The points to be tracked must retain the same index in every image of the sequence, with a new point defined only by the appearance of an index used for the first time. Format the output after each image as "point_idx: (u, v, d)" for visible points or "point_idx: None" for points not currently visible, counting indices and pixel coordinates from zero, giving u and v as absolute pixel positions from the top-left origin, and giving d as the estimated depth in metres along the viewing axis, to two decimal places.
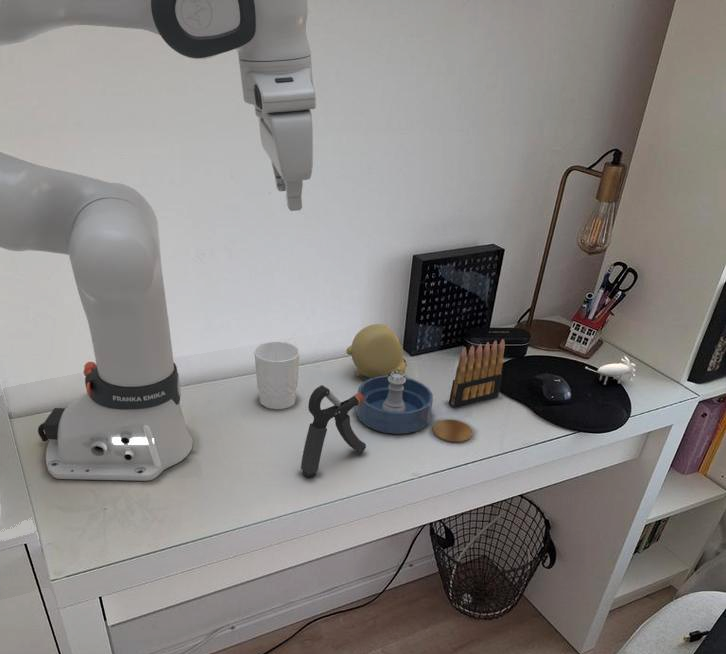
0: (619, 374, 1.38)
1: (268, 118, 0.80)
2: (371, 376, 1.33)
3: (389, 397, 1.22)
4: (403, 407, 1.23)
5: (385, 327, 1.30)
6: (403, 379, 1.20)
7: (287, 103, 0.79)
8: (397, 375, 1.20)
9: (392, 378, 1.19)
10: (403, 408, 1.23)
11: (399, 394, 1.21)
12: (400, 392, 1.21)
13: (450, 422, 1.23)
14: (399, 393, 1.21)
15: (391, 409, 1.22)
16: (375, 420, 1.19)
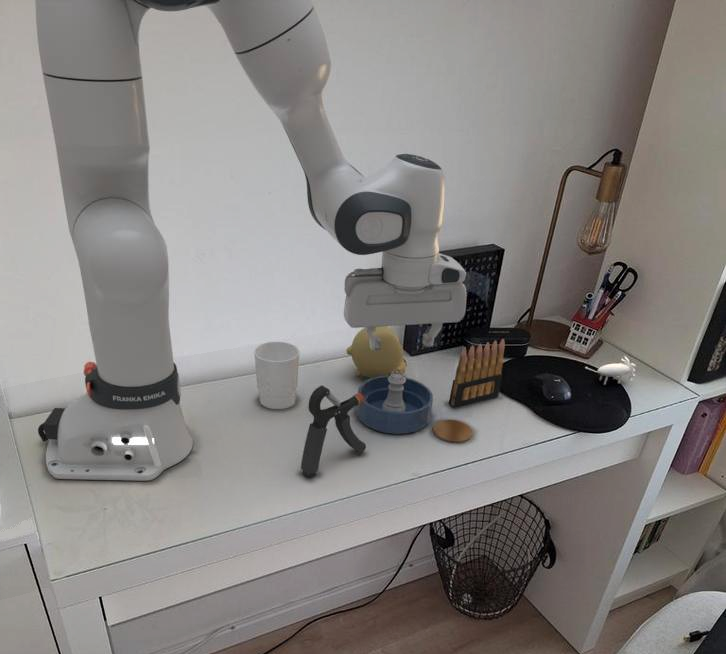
0: (619, 374, 1.38)
1: (458, 285, 1.10)
2: (371, 376, 1.33)
3: (389, 397, 1.22)
4: (403, 407, 1.23)
5: (385, 327, 1.30)
6: (403, 379, 1.20)
7: None
8: (397, 375, 1.20)
9: (392, 378, 1.19)
10: (403, 408, 1.23)
11: (399, 394, 1.21)
12: (400, 392, 1.21)
13: (450, 422, 1.23)
14: (399, 393, 1.21)
15: (391, 409, 1.22)
16: (375, 420, 1.19)
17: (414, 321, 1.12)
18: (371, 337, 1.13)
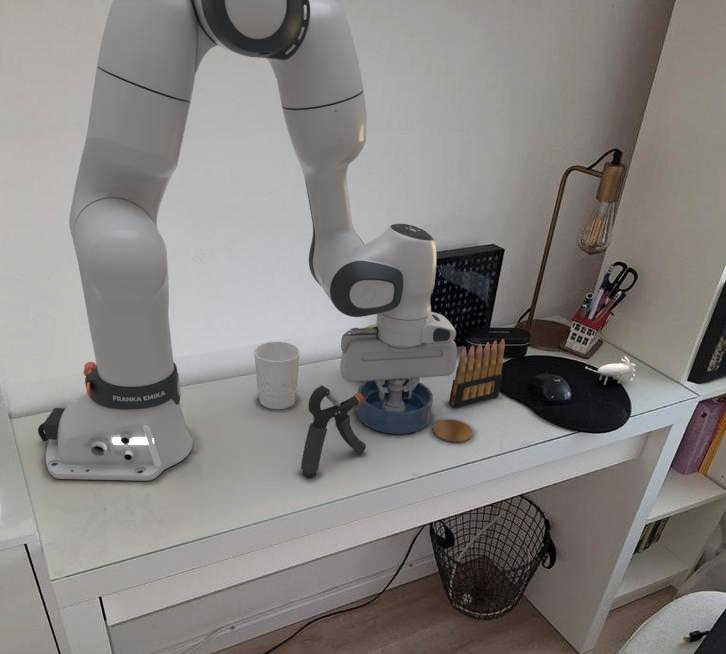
0: (619, 374, 1.38)
1: (449, 343, 1.16)
2: None
3: (389, 397, 1.22)
4: (403, 407, 1.23)
5: None
6: (403, 379, 1.20)
7: None
8: None
9: None
10: (403, 408, 1.23)
11: (399, 394, 1.21)
12: (400, 392, 1.21)
13: (450, 422, 1.23)
14: (399, 393, 1.21)
15: (391, 409, 1.22)
16: (375, 420, 1.19)
17: (407, 375, 1.18)
18: (380, 389, 1.20)
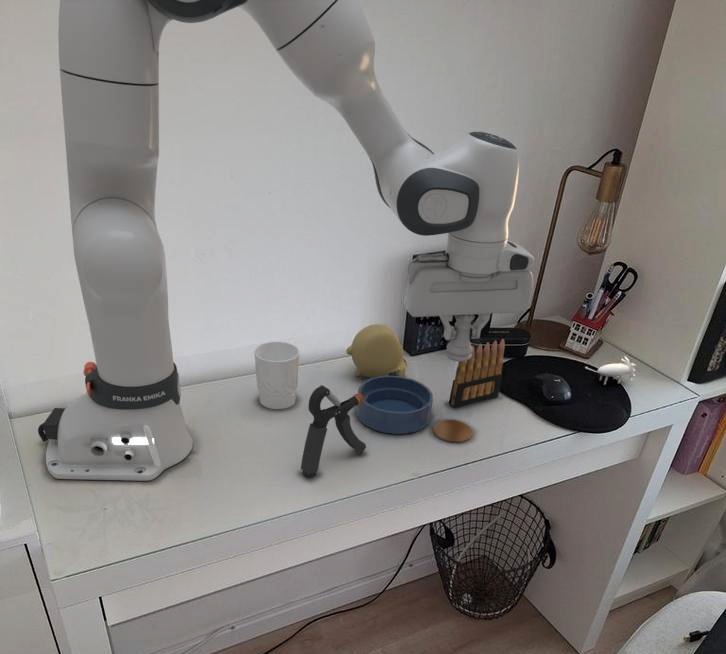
0: (619, 374, 1.38)
1: (526, 273, 1.04)
2: (371, 376, 1.33)
3: None
4: (470, 348, 1.12)
5: (385, 327, 1.30)
6: (472, 315, 1.08)
7: None
8: None
9: None
10: (470, 349, 1.11)
11: (467, 332, 1.10)
12: (468, 330, 1.10)
13: (450, 422, 1.23)
14: (467, 331, 1.10)
15: (457, 349, 1.11)
16: (375, 420, 1.19)
17: (477, 310, 1.07)
18: (447, 326, 1.08)
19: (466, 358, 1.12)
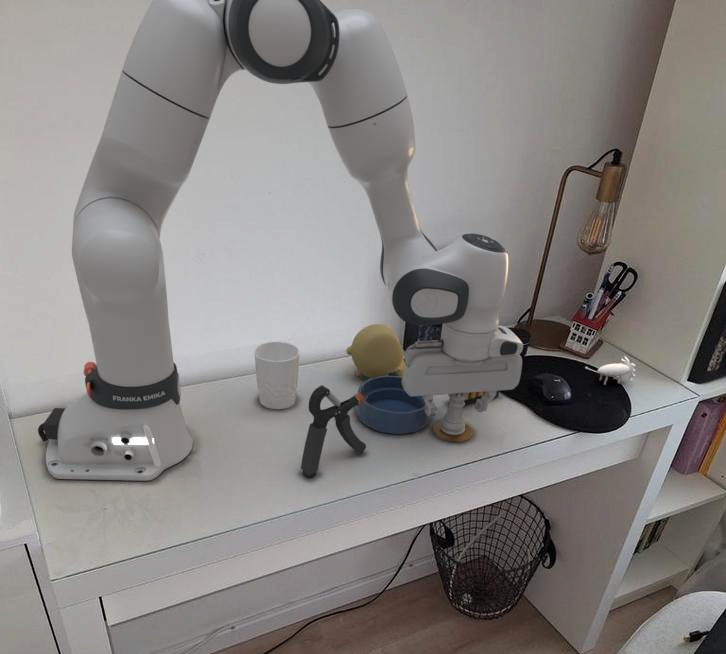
0: (619, 374, 1.38)
1: (515, 356, 1.12)
2: (371, 376, 1.33)
3: (449, 413, 1.19)
4: (463, 423, 1.20)
5: (385, 327, 1.30)
6: (465, 395, 1.17)
7: None
8: None
9: (454, 394, 1.16)
10: (463, 424, 1.20)
11: (460, 410, 1.18)
12: (461, 408, 1.18)
13: None
14: (460, 409, 1.18)
15: (451, 425, 1.19)
16: (375, 420, 1.19)
17: (470, 389, 1.15)
18: (427, 404, 1.16)
19: (459, 432, 1.20)
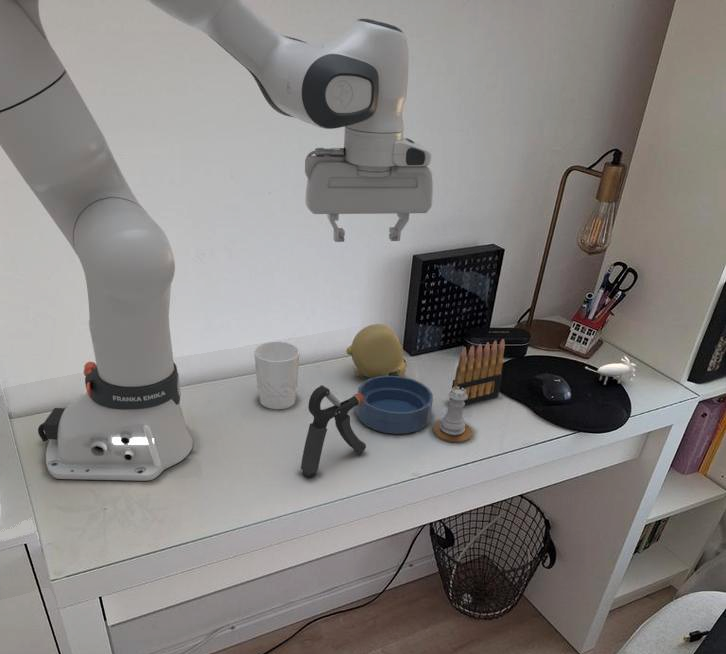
0: (619, 374, 1.38)
1: (424, 169, 1.05)
2: (371, 376, 1.33)
3: (449, 413, 1.19)
4: (463, 423, 1.20)
5: (385, 327, 1.30)
6: (465, 395, 1.17)
7: None
8: (458, 391, 1.17)
9: (454, 394, 1.16)
10: (463, 424, 1.20)
11: (460, 410, 1.18)
12: (461, 408, 1.18)
13: None
14: (460, 409, 1.18)
15: (451, 425, 1.19)
16: (375, 420, 1.19)
17: (379, 209, 1.08)
18: (334, 226, 1.09)
19: (459, 432, 1.20)
